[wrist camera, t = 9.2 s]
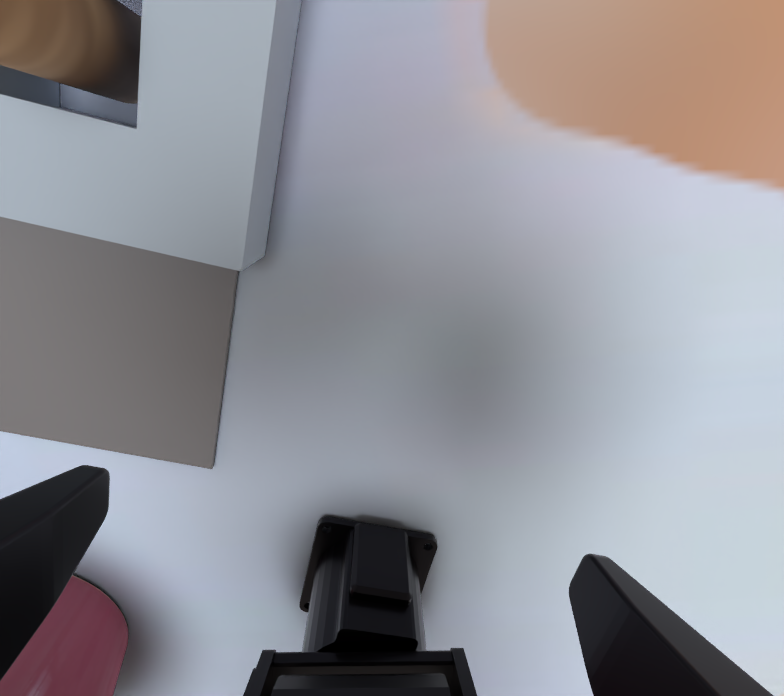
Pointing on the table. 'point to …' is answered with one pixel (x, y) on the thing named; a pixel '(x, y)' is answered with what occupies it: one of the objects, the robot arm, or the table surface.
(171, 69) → the socket block
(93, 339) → the mat
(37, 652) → the plant pot
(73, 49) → the peg
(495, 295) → the table surface
